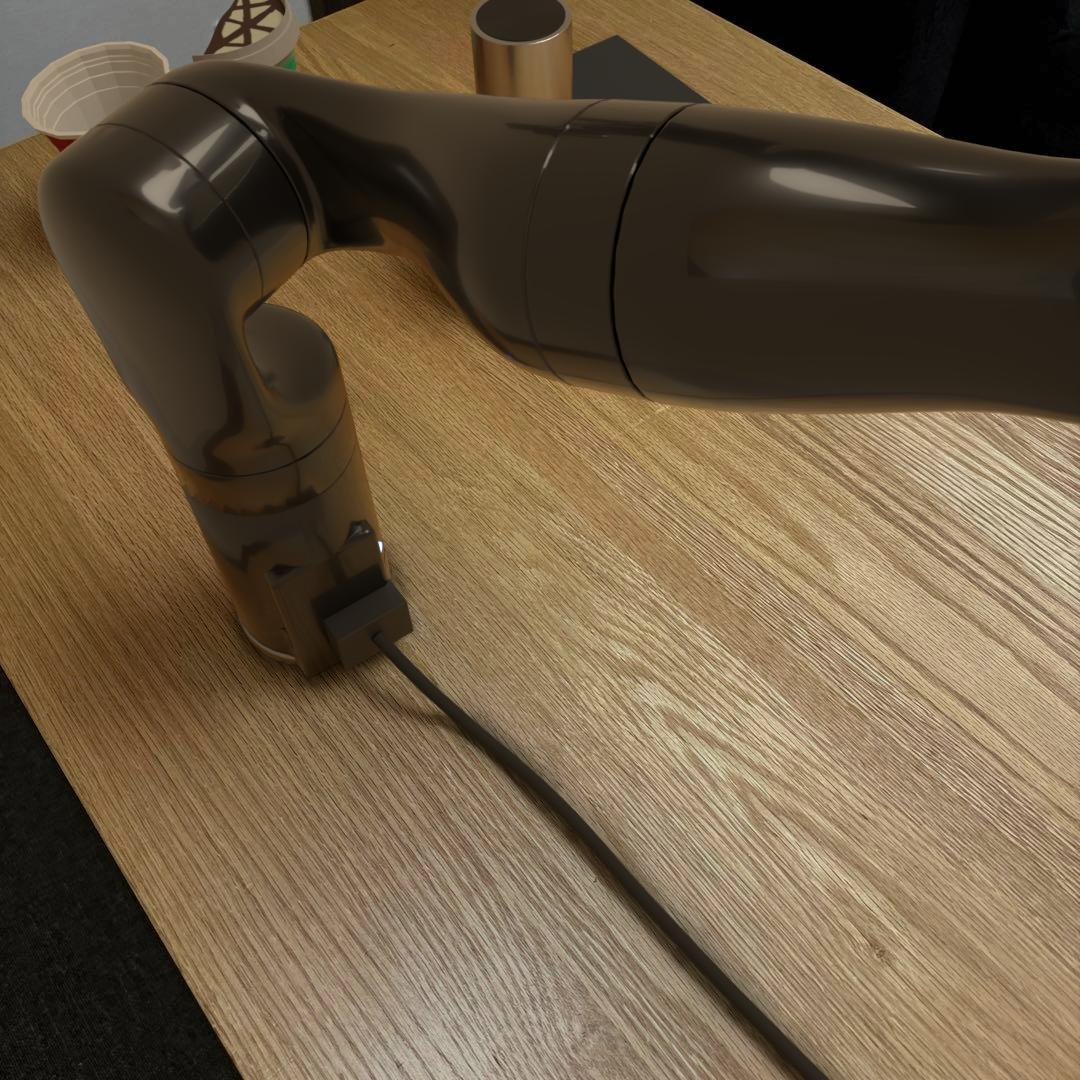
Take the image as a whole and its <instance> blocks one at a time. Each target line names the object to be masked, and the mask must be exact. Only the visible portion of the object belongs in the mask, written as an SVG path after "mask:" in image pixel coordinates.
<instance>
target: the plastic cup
mask: <svg viewBox="0 0 1080 1080" xmlns="http://www.w3.org/2000/svg"><path fill="white" fill-rule="evenodd" d="M170 71H171V70H170V64H169V60H168V58H167V57H166V56H165V55H163V54H162V53H161V52H160V51H159V50H158V49H157V48H155V47H154V46H151V45H147V44H143V43H139V42H136V41H132V40H131V41H130V40H129V41H106V42H105V41H104V42H101V43H97V44H94V45H91V46H90V45H89V46H86V47H82V48H78V49H76V50H73V51H72V52H70V53H68V54H66V55H64V56H62V57H60V58H58V59H56V60H54V61H52V62H50V63H49V64H48V65H47V66H46V67H45V68H43V69H42V70H41V71H40V72H39V73H38V74H36V75H35V76H34V77H33V78H32V79H31V80H30V82H29V84H28V85H27V87H26V89H25V91H24V92H23V95H21V96H22V97H21V98H20V99H21V116H22V117H23V118H24V119H25V120H26V121H27V122H28V123H29V124H30V126H32V128H34V130H35V131H36V132H38V133H39V134H41V135H44V136H45V137H46V138H47V139H48V140H49V142H50V143H51V144H52V145H53V146H54V147H55V148H56V149H57V150H58V152H59V153H60V152H62V151H63V150H64V149H65V148H67V147H68V146H69V145H70V144H72V143H73V142H74V141H76V140H77V139H78V138H79V137H81V136H82V135H83V134H85V133H86V132H88V131H89V130H90V129H91V128H92V127H94V126H95V125H96V124H98V123H99V122H100V121H101V120H103V119H104V118H105V117H107V116H108V115H109V114H111V113H112V112H113V111H115V110H116V109H117V108H119V107H120V106H121V105H123V104H124V103H125V102H126V101H128V100H129V99H130V98H132V97H133V96H134V95H136V94H137V93H138V92H140V91H141V90H143V89H144V88H145V87H146V86H148V85H149V84H150V83H151V82H153V81H154V80H156V79H157V78H159V77H160V76H162V75H164V74H166V73H168V72H170Z"/></svg>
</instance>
